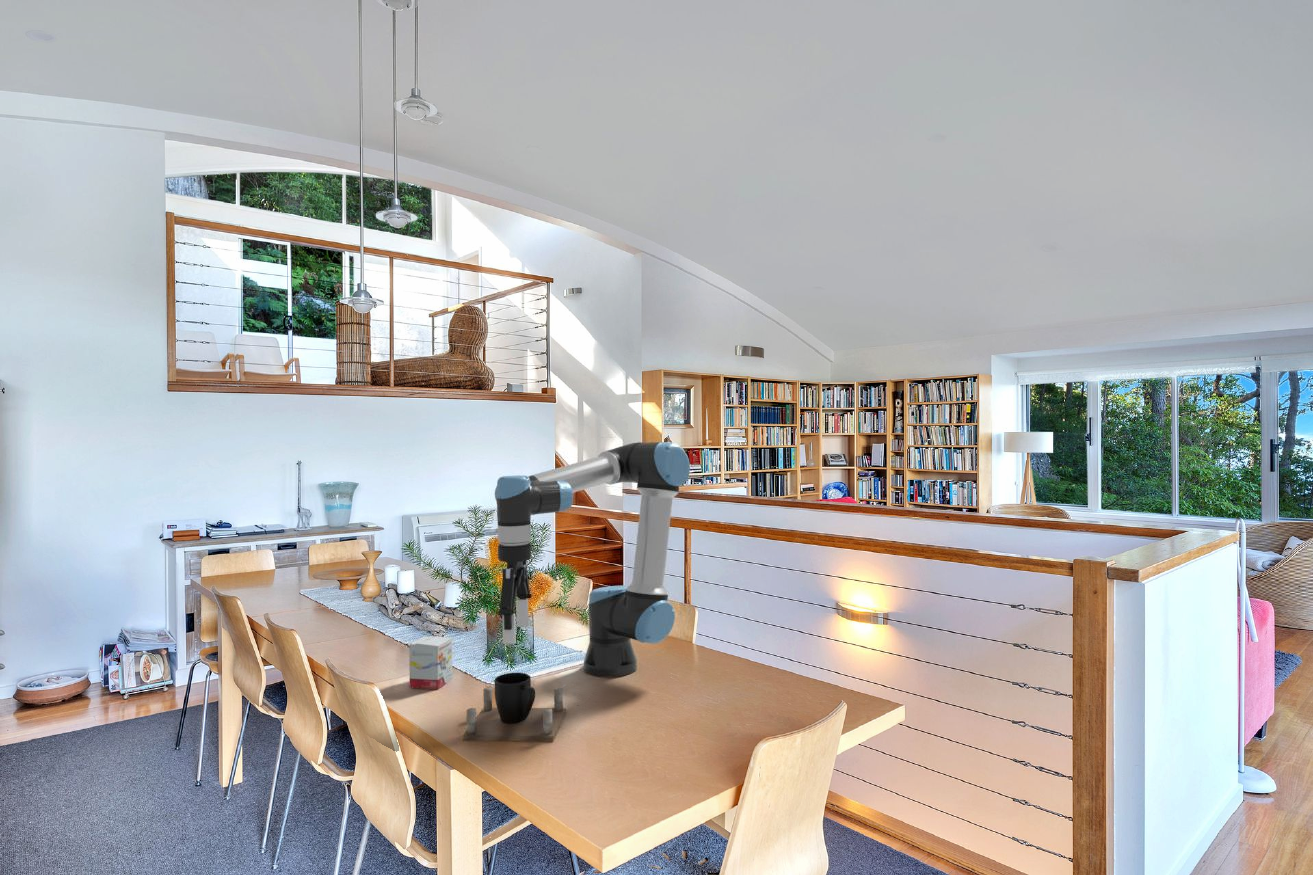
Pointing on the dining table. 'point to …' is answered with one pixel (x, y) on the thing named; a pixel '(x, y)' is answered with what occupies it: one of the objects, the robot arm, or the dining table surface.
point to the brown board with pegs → (535, 727)
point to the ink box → (430, 662)
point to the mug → (514, 697)
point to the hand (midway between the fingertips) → (516, 634)
